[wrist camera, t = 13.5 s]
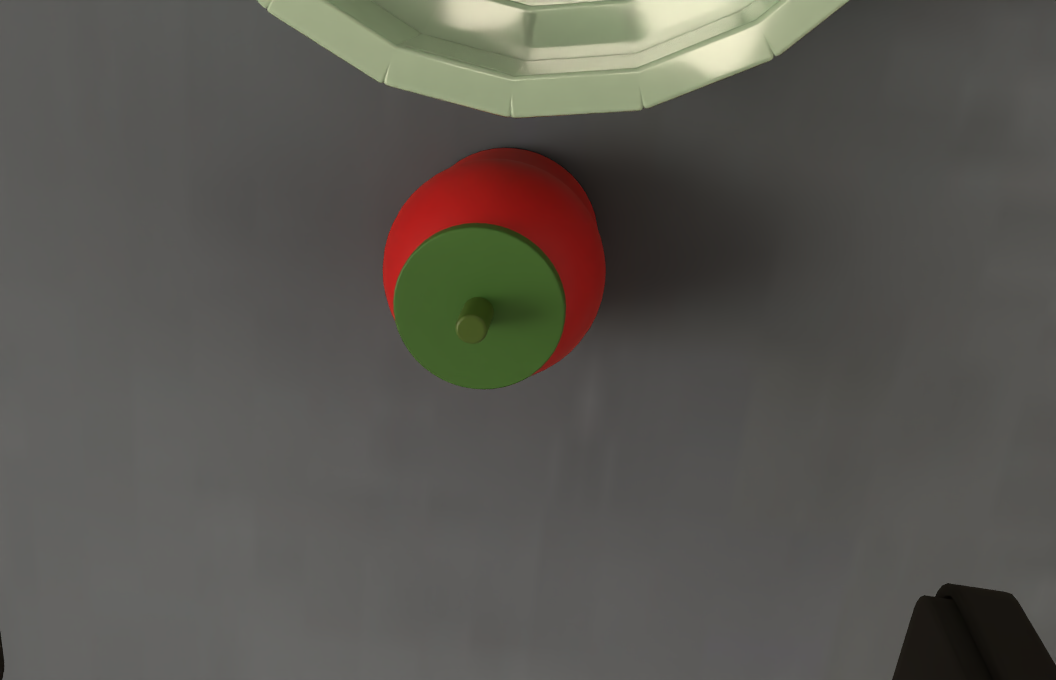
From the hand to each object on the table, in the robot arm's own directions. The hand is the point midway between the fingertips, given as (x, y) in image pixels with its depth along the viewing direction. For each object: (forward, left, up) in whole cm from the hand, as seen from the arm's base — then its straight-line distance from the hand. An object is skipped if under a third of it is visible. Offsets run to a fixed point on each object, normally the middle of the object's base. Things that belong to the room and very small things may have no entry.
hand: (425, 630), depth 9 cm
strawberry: (+1, 0, -11) cm, 11 cm away
